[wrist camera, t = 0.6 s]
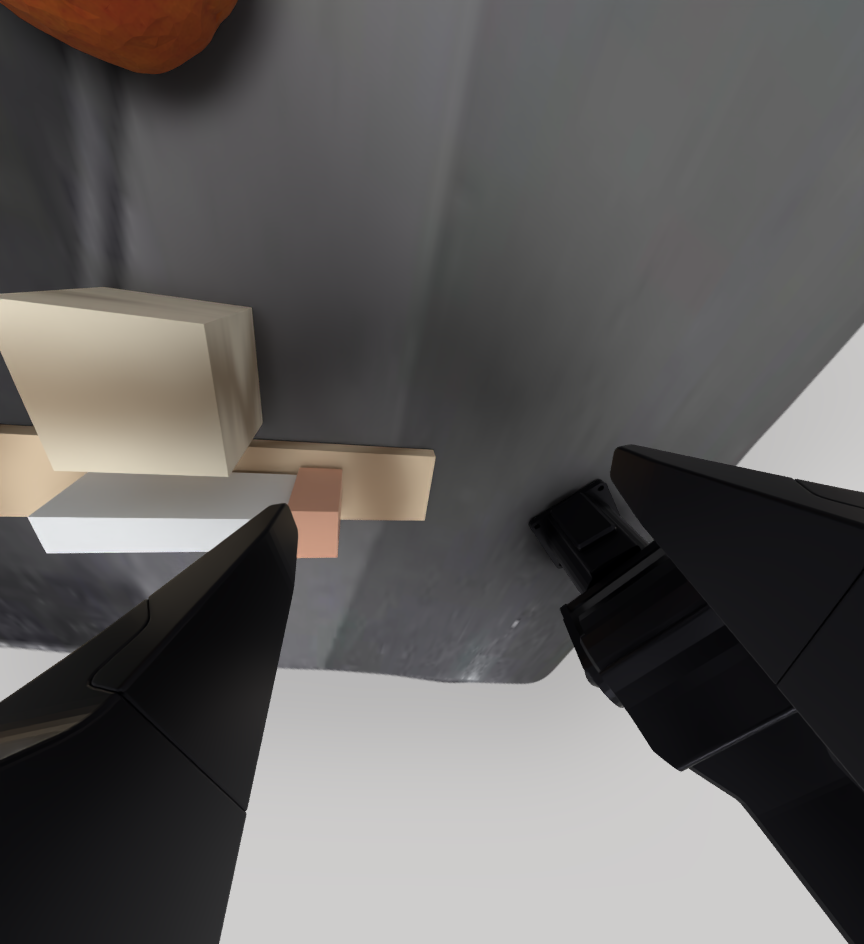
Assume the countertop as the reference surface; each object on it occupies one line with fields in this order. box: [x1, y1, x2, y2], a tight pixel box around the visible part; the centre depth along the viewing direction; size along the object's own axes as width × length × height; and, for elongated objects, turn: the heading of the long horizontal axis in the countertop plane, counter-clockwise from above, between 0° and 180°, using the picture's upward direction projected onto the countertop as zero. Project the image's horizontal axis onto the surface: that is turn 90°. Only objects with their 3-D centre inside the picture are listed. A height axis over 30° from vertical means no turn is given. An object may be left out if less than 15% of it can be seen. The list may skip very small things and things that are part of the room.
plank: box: [0, 424, 436, 521], centre depth 19 cm, size 33×5×1 cm, turn 81°
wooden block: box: [0, 287, 263, 477], centre depth 15 cm, size 6×6×6 cm
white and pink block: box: [28, 467, 342, 558], centre depth 18 cm, size 12×3×4 cm, turn 81°
